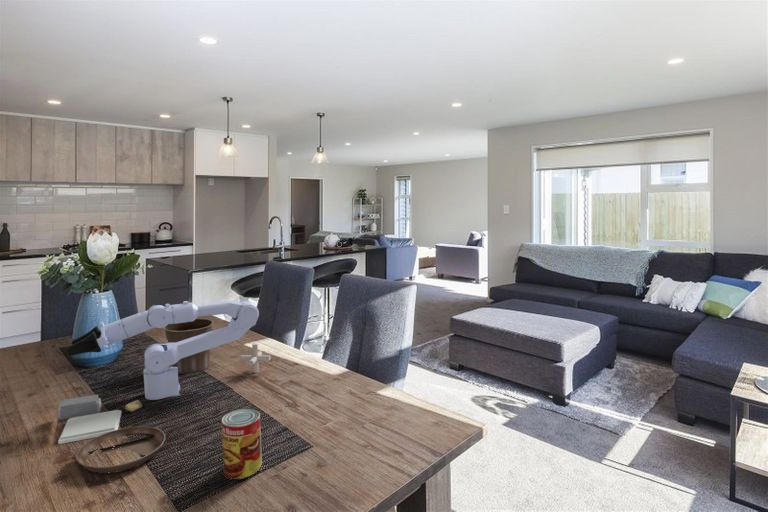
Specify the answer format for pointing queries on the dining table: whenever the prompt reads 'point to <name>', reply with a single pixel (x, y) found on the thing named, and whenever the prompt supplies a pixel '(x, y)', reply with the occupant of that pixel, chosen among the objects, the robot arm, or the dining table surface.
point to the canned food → (241, 443)
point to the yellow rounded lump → (133, 406)
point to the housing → (79, 407)
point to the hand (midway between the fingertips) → (70, 348)
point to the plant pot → (184, 332)
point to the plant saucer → (124, 447)
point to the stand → (90, 426)
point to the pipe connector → (255, 358)
